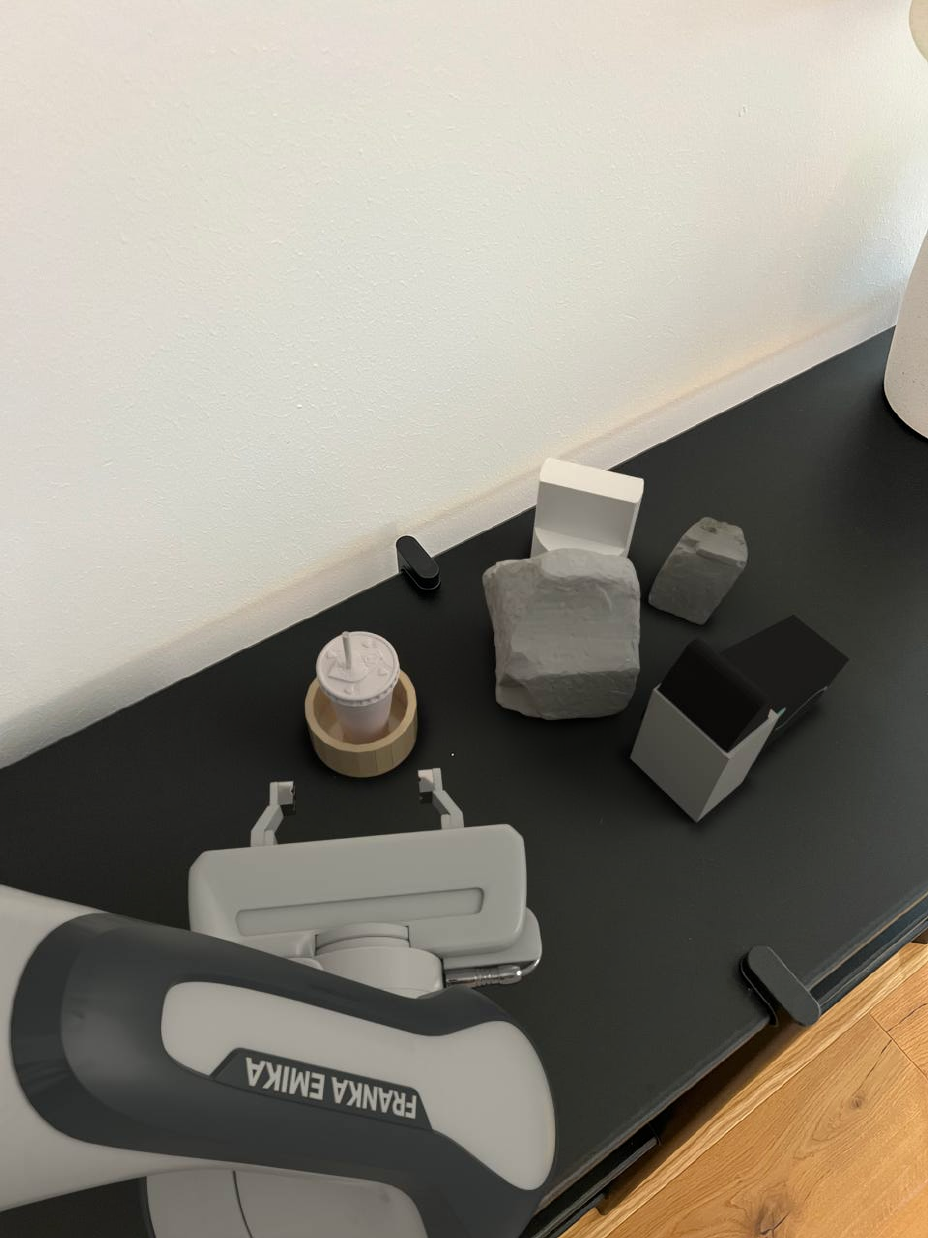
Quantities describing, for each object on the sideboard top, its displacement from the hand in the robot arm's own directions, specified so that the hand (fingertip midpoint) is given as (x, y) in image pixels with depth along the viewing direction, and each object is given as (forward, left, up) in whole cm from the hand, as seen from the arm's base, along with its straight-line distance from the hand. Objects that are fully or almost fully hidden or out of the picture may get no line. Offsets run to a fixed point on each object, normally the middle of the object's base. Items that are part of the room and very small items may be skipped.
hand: (356, 778), depth 62 cm
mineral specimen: (+24, +32, -15) cm, 42 cm away
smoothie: (-3, +12, -15) cm, 19 cm away
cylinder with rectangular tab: (+13, +33, -15) cm, 38 cm away
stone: (+12, +21, -15) cm, 28 cm away
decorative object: (+28, +18, -15) cm, 36 cm away
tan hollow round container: (-3, +12, -15) cm, 19 cm away
